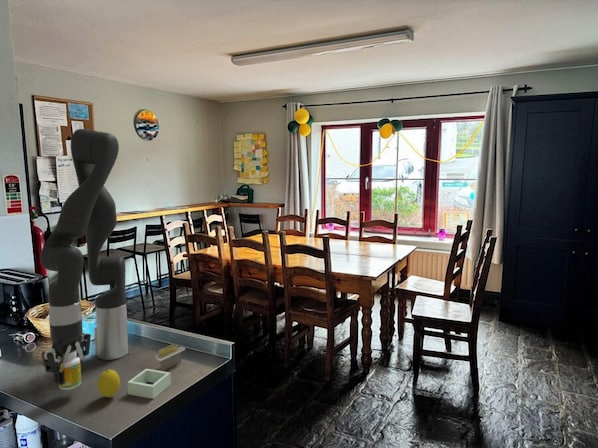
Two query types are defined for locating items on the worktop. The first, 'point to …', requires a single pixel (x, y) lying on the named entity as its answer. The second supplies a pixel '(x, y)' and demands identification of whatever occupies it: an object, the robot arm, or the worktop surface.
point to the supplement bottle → (71, 372)
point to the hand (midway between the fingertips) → (69, 378)
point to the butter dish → (169, 356)
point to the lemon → (108, 383)
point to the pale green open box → (147, 390)
